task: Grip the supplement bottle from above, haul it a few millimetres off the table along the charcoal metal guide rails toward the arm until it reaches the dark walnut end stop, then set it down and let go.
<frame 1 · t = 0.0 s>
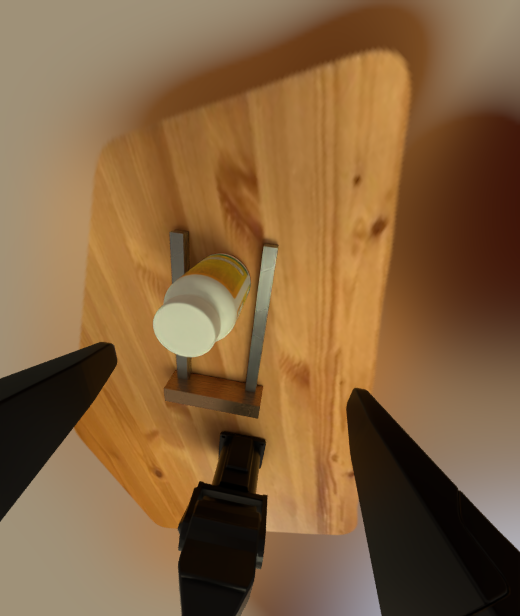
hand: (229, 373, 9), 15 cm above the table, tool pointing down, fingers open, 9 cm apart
supplement bottle: (224, 278, 23), on the table
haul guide: (221, 322, 25), on the table
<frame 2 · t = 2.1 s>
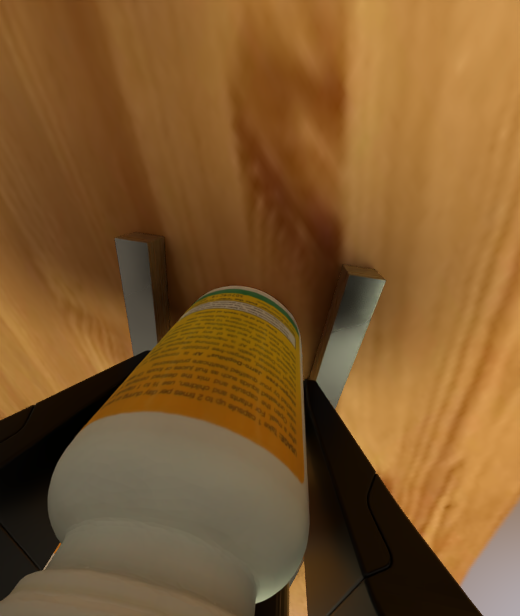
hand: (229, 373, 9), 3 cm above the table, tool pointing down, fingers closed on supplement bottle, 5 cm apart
supplement bottle: (243, 333, 11), on the table, touching gripper
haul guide: (234, 408, 13), on the table
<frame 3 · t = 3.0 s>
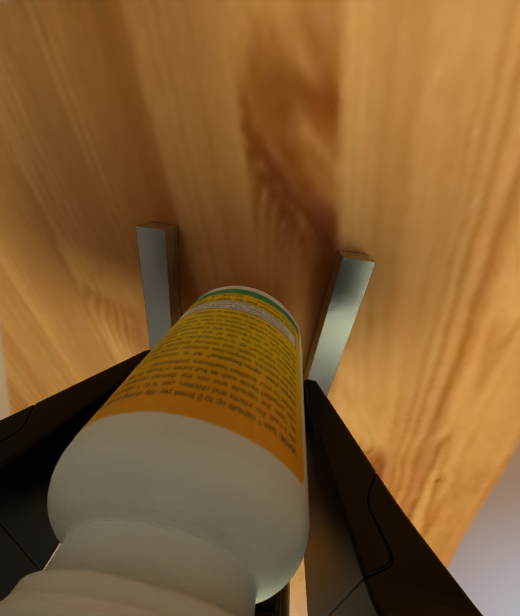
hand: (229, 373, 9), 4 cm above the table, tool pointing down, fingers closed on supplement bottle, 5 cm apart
supplement bottle: (243, 333, 11), point 1 cm above the table, touching gripper
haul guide: (239, 387, 14), on the table
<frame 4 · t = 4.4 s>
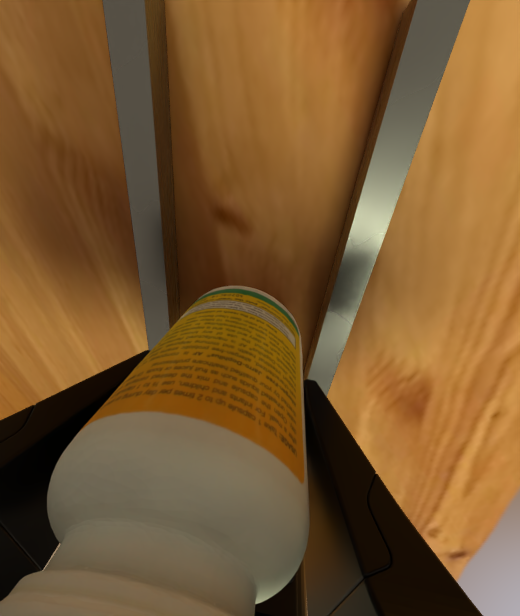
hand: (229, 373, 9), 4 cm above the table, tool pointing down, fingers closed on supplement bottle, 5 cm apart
supplement bottle: (243, 333, 11), point 1 cm above the table, touching gripper
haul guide: (249, 286, 11), on the table
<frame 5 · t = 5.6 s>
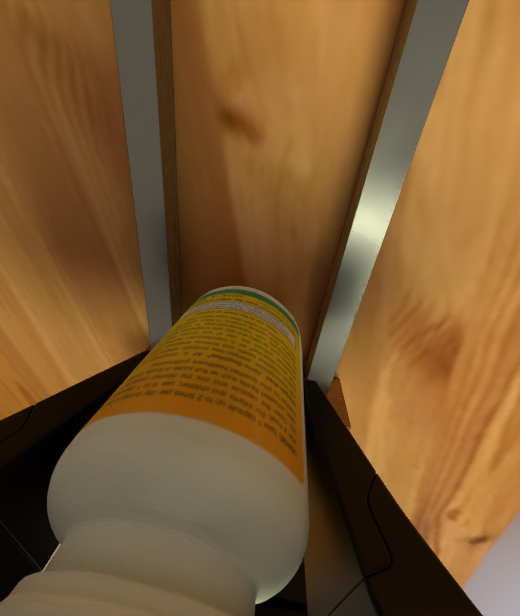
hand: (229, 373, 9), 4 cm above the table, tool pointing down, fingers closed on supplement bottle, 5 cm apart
supplement bottle: (243, 333, 11), point 1 cm above the table, touching gripper
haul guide: (259, 212, 10), on the table
when the fingers open (3 cm above the table, at t = 6.8 s): supplement bottle stays where it is, on the table.
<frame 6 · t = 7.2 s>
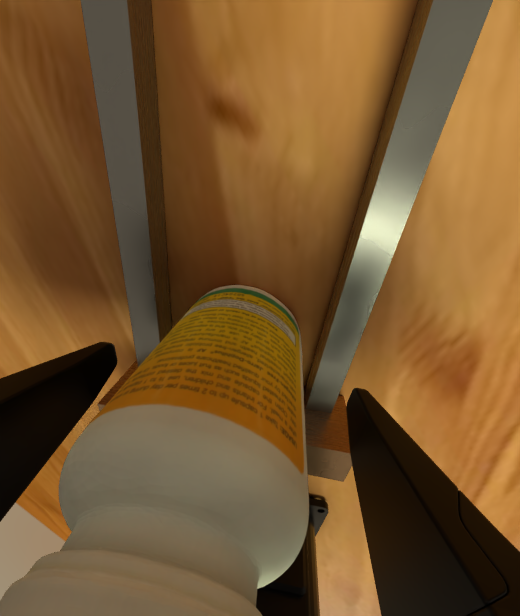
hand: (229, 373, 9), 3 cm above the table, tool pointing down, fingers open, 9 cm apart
supplement bottle: (244, 331, 11), on the table
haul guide: (255, 215, 9), on the table
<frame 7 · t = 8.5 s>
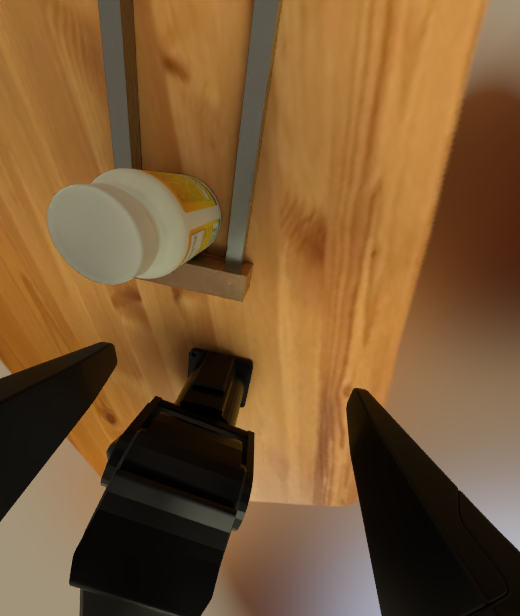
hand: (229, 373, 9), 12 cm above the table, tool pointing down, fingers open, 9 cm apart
supplement bottle: (189, 214, 18), on the table
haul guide: (190, 129, 15), on the table
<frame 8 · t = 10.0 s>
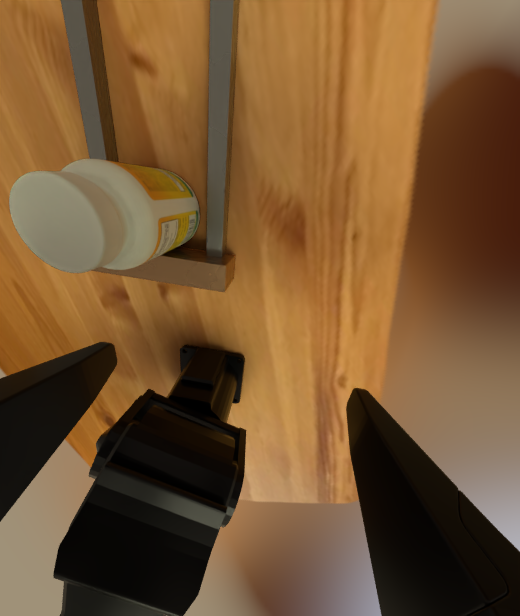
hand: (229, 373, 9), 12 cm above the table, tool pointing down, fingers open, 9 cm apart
supplement bottle: (169, 208, 18), on the table
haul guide: (162, 123, 16), on the table
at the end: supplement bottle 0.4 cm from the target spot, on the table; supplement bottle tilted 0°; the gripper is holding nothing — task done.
